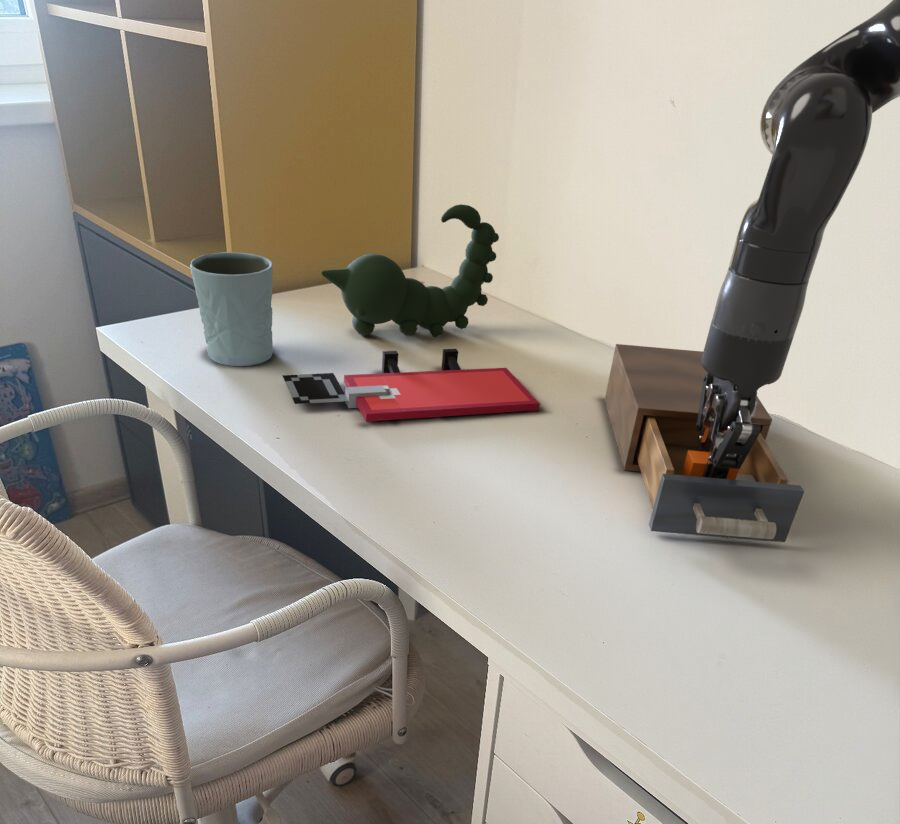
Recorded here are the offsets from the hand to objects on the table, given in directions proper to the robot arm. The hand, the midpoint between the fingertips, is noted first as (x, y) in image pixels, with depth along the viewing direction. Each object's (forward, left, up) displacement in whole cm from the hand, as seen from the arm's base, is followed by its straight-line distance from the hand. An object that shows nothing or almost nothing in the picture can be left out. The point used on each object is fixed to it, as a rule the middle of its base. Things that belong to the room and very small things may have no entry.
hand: (705, 486), depth 87 cm
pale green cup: (+57, -31, -3) cm, 65 cm away
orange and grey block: (-1, 0, 0) cm, 1 cm away
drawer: (0, +1, -1) cm, 2 cm away
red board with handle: (+33, -22, -3) cm, 40 cm away
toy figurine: (+35, -45, -3) cm, 57 cm away
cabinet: (0, -16, -2) cm, 16 cm away
